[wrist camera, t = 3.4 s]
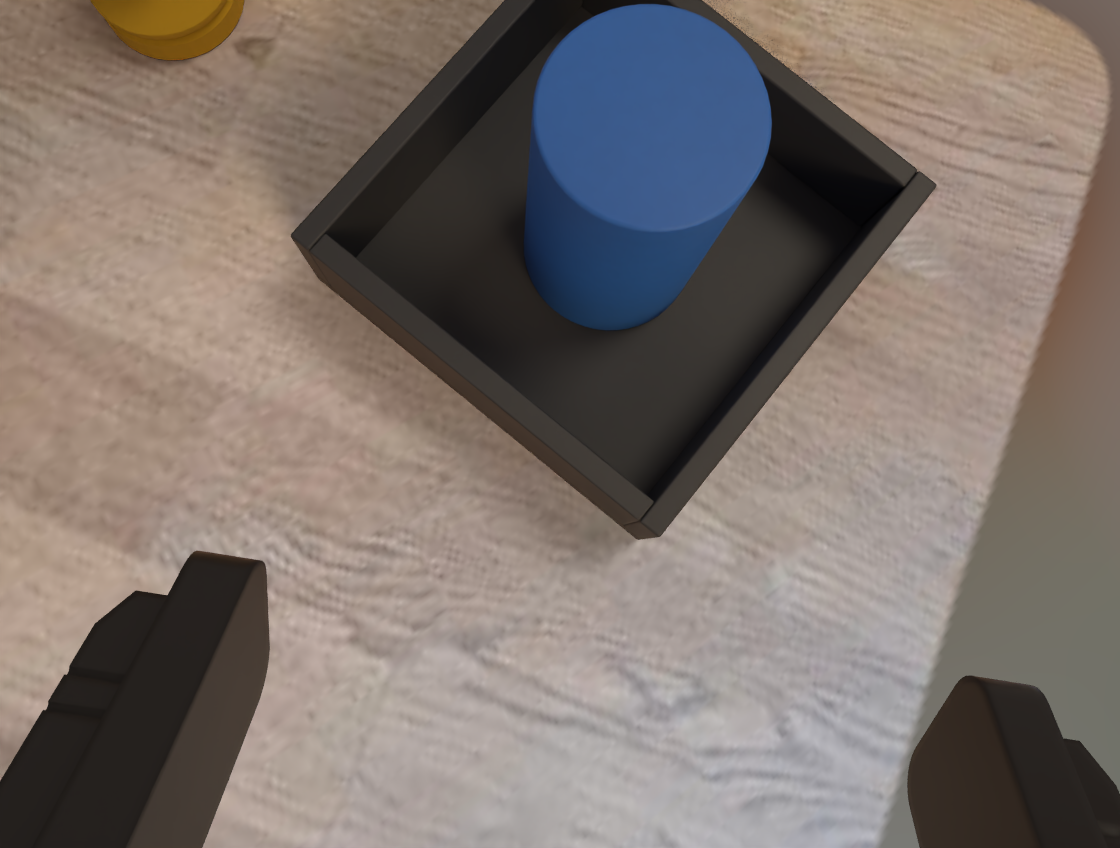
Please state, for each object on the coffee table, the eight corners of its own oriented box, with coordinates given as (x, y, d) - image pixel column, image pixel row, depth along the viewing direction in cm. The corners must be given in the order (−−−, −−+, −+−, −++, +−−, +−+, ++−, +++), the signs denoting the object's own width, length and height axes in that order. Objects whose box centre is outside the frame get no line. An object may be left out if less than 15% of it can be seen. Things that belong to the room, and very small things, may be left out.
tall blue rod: (725, 239, 26) (820, 102, 18) (621, 365, 26) (673, 280, 18) (595, 135, 27) (634, -44, 19) (488, 258, 26) (482, 126, 18)
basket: (883, 231, 27) (938, 184, 24) (638, 540, 26) (659, 538, 22) (576, -11, 28) (586, -92, 24) (317, 278, 26) (288, 235, 23)
